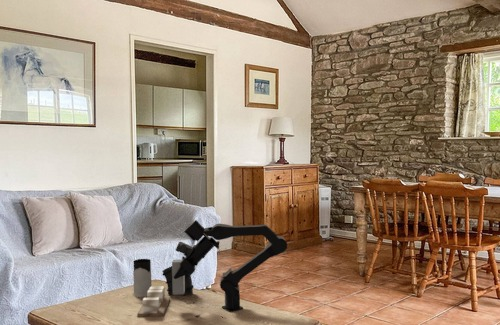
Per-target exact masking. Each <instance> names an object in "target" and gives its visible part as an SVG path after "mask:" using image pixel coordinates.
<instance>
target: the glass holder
mask: <svg viewBox="0 0 500 325" xmlns="http://www.w3.org/2000/svg"><path fill="white" fill-rule="evenodd" d="M151 264H152V263H151V259H150V258H138V259H135V260H133V272H132V273H133V275H132V276H133V292H132V295H133V297H138V298H146V297H147V292H148V290H149V288H150V287H151V286H152V266H151Z"/></svg>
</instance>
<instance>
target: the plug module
mask: <svg viewBox="0 0 500 325" xmlns="http://www.w3.org/2000/svg"><path fill="white" fill-rule="evenodd" d="M181 261H182V259H173V260H172V261H171V266H172V286H173V295H175V296H177V295H176V294H184V292H185V275H184V276H182V277H179V278H177V279H174V276H175V274H176V273H177V271H178V270H179V268H180V262H181Z"/></svg>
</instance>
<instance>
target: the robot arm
mask: <svg viewBox="0 0 500 325" xmlns="http://www.w3.org/2000/svg"><path fill="white" fill-rule="evenodd" d="M183 233H185V234H186V236H188V237H189V238H190V239H191V240H192V241H193V242H196V241H197V243H196V244H194V245H193V246H191V245H189V244H187V243H185V242H183V241H178V243H177V246H176V248H175V251H176V252H178V253H180V254H181V253H182V254H183V256H182V258H181V260H182V261H181V262H180V268H179V270H178V271H177V273H176V274H175V276H174V279H177V278H179V277H182V276H184V275H187V274H189V273H190V274H191V275H193V273H195V270H196V267H197V266H198V264H199V263H200V262H201V261H202V259H204V258H205V257H206V256H207V255H208V253H210V251H211V250H212V249H213V248H214V247H215V248H216V249H217V250H219V249H220V241H222V240H226V239H230V238H232V237H242V236H243V237H246V236H247V237H248V236H249V237H250V236H263V237H264V238H265V239H266V240H267V241H268V243H267V245H266V246H265V247H264V248H263V249H262V250H261V251H259V252H258V253H257V254H255V255H254V256H253V257H251V258H250V259H249V260H247V261H246V262H244V263H243V264H242V265H240V266H239V267H238V268H236V269H234V270H232V268H231V267H230V268H228V270H227V271H225V272H223V273H222V276H221V277H220V281H219V287H220V289H221V290H222V291H223V292H224V305H222V306H221V309H224V310H226V311H228V312H234V311H235V312H236V311H239V310H242V309H244V306H242V305H241V300H240V299H241V297H240V296H241V295H240V285H239V283H240V282H241V281H242V280H243V278H244V277H246V276H247V275H248V274H250V273H251V272H253V271H254V270H256V269H257V268H258V267H259V266H261V265H262V264H263V263H265V262H266V261H267V260H269V259H270V258H272V257H276V256H278V255H281V254H282V253H285V252H286V250H287V249H288V243H287V241H286V238H284V237H283V236H282V235H278V234H277V233H275V231H273V230H272V229H271V228H270V227H269V226H268V225H267V224H265V223H264V224H253V225H252V224H251V225H230V224H225V223H224V224H223V223H216V224H214V225H213V226H210V227H209V226H208V227H204V226H203V225H202V224H201V223H200V222H199V220H197V219H195V220H194V221H193V222H192V223H190V224H189V225H188V226H187V227H186V228H185V230H183Z"/></svg>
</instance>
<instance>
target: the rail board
mask: <svg viewBox="0 0 500 325" xmlns="http://www.w3.org/2000/svg"><path fill="white" fill-rule="evenodd" d="M165 289H166V288H165V286H163V285H161V286H160V285H157V286H153V285H151V287H150V288H149V290H148V292H147V296H146V297H142V303H141V304H142V305H141V306H140V308H139V310H138V311H137V315H136V316H137V318H138V317H139V318H140V317H164V315H165V312H166V310H167V308H168V305H169V303H170V301H171V296H166V290H165Z"/></svg>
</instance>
